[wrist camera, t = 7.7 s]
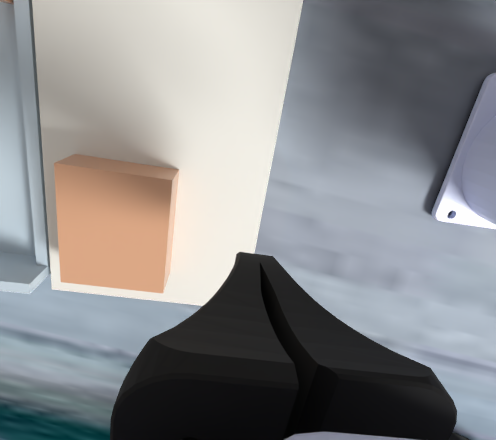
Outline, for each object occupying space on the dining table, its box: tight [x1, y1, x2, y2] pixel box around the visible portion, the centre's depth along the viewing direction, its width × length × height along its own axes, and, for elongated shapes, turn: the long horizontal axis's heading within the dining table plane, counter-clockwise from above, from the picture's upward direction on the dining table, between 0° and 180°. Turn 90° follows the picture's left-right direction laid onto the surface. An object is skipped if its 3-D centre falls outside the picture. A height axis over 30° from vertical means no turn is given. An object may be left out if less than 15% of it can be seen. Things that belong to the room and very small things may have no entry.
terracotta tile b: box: [54, 154, 179, 293], centre depth 16 cm, size 5×6×2 cm
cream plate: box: [32, 0, 303, 306], centre depth 16 cm, size 11×22×2 cm, turn 171°
